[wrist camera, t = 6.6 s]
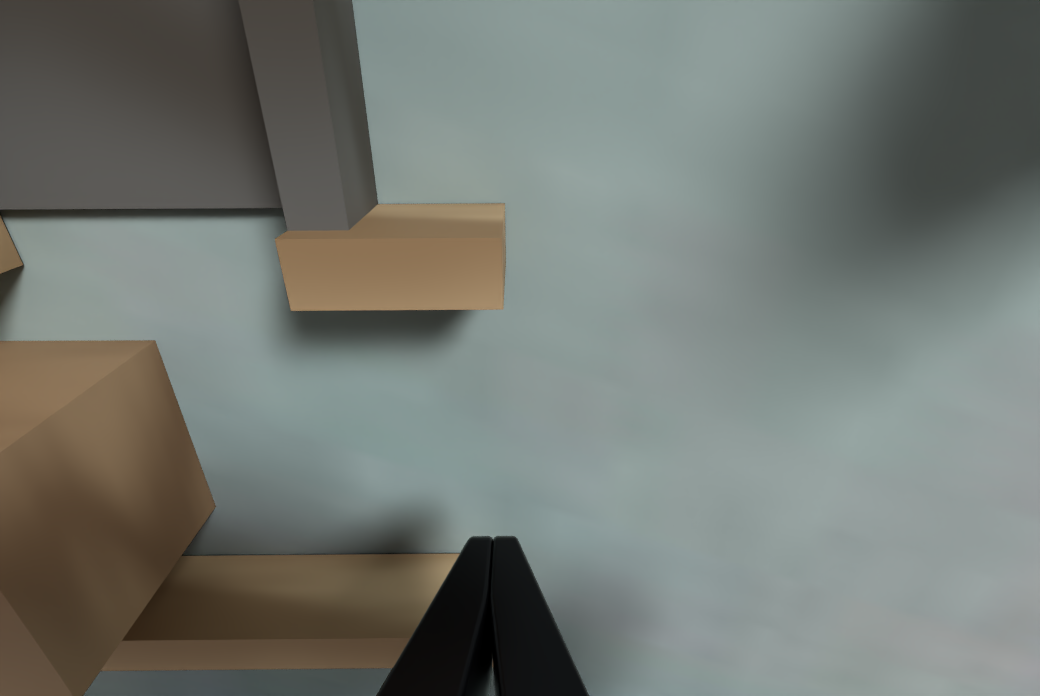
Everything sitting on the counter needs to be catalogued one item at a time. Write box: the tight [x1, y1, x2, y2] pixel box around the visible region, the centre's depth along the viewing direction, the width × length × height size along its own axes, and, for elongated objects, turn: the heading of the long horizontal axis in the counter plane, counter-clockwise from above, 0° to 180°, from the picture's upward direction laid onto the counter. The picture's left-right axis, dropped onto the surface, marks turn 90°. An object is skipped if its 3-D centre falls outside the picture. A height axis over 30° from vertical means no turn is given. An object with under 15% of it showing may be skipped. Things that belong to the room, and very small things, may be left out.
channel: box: [0, 0, 506, 671], centre depth 10 cm, size 18×16×2 cm
